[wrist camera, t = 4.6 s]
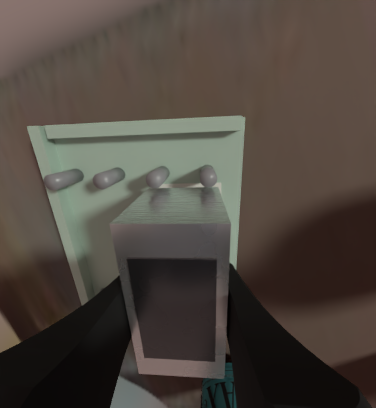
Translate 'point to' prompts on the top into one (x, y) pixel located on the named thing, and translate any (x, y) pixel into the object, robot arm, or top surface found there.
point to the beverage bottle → (219, 391)
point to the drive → (176, 279)
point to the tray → (130, 179)
